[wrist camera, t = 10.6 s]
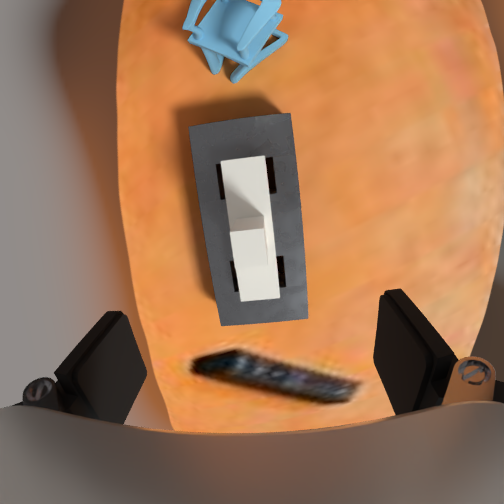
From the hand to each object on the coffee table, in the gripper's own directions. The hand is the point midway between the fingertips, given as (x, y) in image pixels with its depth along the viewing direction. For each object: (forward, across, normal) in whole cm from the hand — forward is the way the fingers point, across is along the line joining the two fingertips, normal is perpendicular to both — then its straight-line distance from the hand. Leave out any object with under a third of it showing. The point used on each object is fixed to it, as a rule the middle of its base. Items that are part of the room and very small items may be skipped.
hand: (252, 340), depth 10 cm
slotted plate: (+24, +1, +1) cm, 24 cm away
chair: (+25, 0, -19) cm, 31 cm away
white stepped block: (+24, +1, +1) cm, 24 cm away
